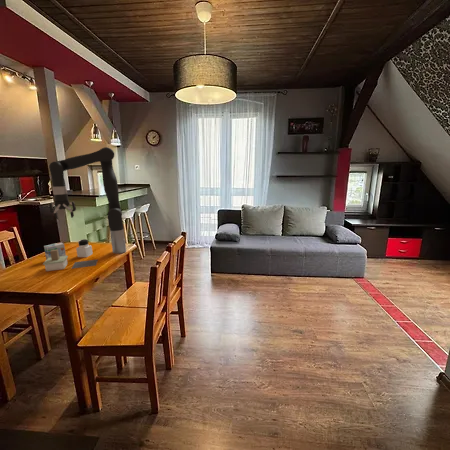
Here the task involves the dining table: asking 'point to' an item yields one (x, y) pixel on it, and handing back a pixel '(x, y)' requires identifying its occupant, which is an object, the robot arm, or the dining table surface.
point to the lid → (55, 258)
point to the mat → (84, 264)
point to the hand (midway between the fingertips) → (64, 218)
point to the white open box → (56, 266)
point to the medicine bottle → (84, 248)
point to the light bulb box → (53, 247)
